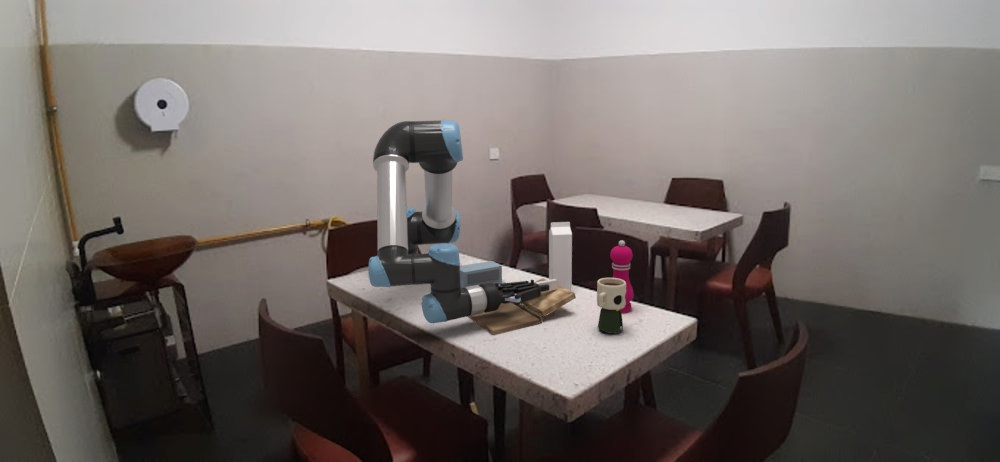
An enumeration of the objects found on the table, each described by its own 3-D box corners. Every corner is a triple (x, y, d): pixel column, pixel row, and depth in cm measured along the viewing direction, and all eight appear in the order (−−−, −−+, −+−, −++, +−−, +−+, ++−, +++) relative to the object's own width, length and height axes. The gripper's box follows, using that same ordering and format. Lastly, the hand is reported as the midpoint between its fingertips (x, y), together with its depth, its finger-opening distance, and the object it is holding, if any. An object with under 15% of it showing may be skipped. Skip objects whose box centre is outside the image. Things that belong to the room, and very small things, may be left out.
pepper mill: (618, 315, 140) (620, 244, 136) (601, 307, 147) (603, 239, 142) (638, 310, 144) (641, 241, 139) (621, 303, 150) (623, 236, 145)
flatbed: (463, 312, 145) (462, 306, 145) (508, 302, 152) (508, 297, 151) (492, 335, 129) (492, 328, 129) (542, 323, 136) (542, 316, 136)
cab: (444, 305, 151) (442, 267, 148) (500, 294, 159) (499, 258, 157) (455, 314, 144) (453, 274, 141) (513, 301, 153) (513, 264, 150)
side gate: (512, 294, 150) (542, 277, 154) (513, 299, 151) (543, 282, 155) (542, 311, 136) (574, 292, 141) (544, 316, 137) (576, 298, 141)
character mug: (611, 341, 125) (613, 290, 122) (586, 333, 129) (587, 284, 126) (633, 327, 132) (635, 279, 130) (609, 320, 137) (610, 274, 134)
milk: (571, 293, 159) (572, 223, 154) (552, 294, 158) (552, 224, 154) (567, 287, 165) (568, 219, 160) (548, 287, 164) (548, 220, 159)
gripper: (471, 304, 141) (543, 290, 152) (492, 320, 129) (569, 303, 140) (470, 278, 139) (543, 265, 150) (492, 292, 128) (569, 277, 139)
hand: (555, 283), depth 145 cm, fingers closed
